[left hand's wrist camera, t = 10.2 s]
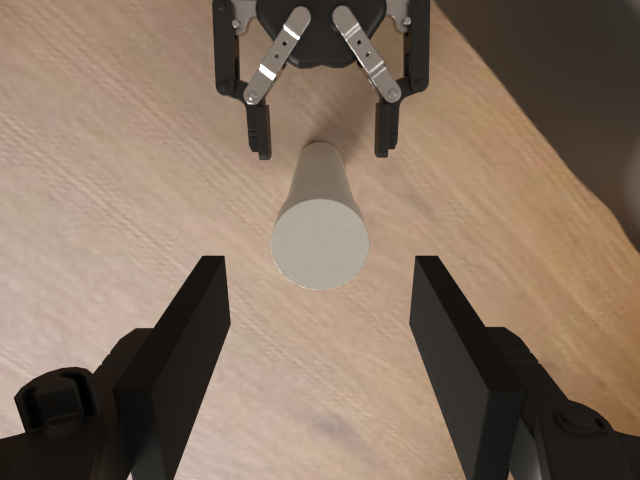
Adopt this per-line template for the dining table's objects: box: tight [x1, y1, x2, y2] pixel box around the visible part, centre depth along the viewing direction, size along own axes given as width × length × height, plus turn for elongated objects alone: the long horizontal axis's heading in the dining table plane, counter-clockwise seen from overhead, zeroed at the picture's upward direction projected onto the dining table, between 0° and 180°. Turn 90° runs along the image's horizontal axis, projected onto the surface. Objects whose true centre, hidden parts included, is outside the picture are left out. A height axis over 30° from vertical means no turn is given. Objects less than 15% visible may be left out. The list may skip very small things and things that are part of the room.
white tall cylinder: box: [287, 142, 353, 199], centre depth 28 cm, size 4×4×19 cm
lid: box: [271, 186, 369, 290], centre depth 19 cm, size 4×4×2 cm
